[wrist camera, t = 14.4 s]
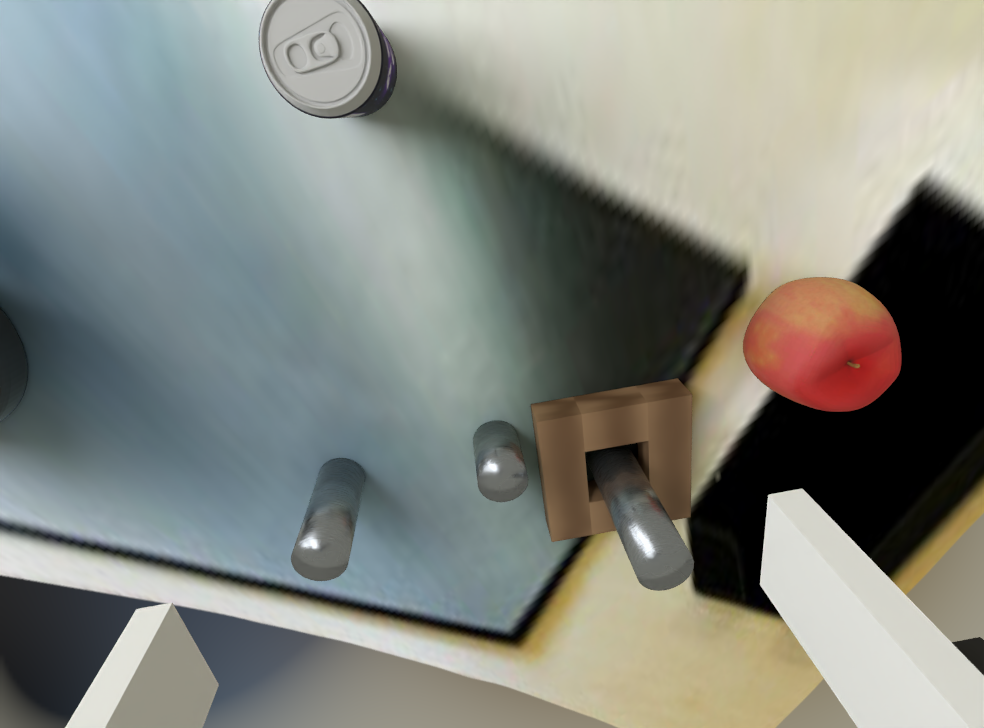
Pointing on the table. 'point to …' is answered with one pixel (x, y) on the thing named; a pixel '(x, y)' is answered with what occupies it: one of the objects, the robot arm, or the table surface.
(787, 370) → the apple
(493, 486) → the short pin
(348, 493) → the medium pin
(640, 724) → the table surface
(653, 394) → the socket plate
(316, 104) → the beverage can
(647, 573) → the tall pin
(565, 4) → the table surface
